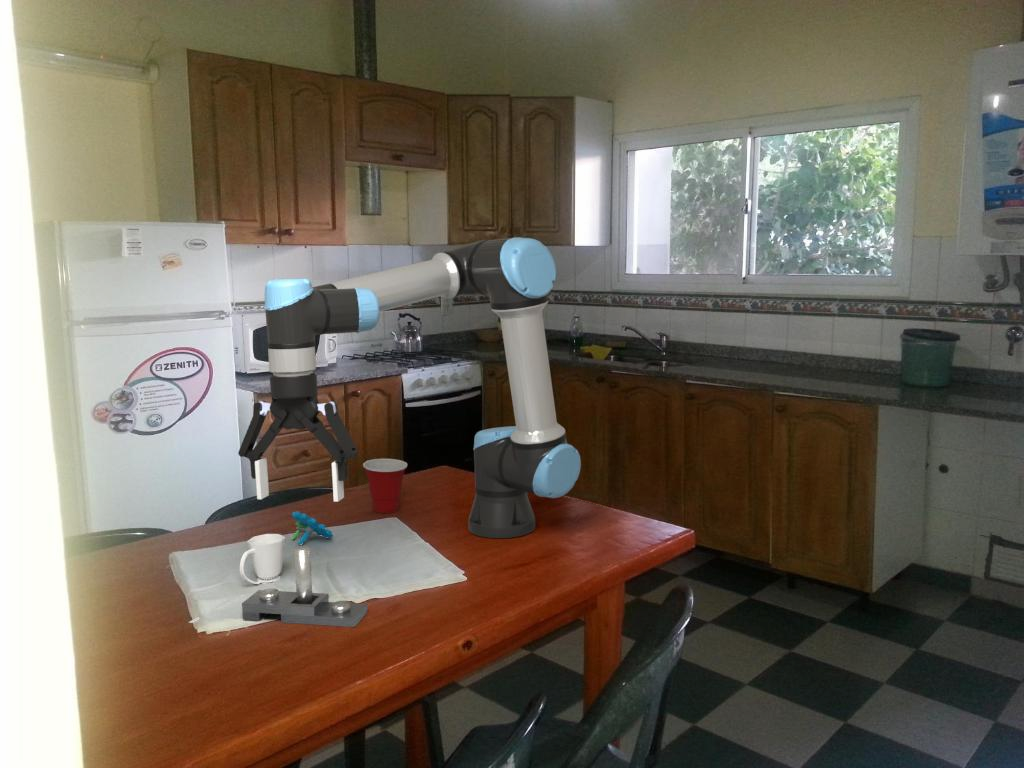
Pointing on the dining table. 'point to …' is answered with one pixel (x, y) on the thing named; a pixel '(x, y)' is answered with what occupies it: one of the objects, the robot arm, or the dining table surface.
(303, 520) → the gear
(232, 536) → the dining table surface
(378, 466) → the plastic cup
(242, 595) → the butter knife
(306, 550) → the metal pin
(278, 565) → the cup
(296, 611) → the grey bolted bracket
